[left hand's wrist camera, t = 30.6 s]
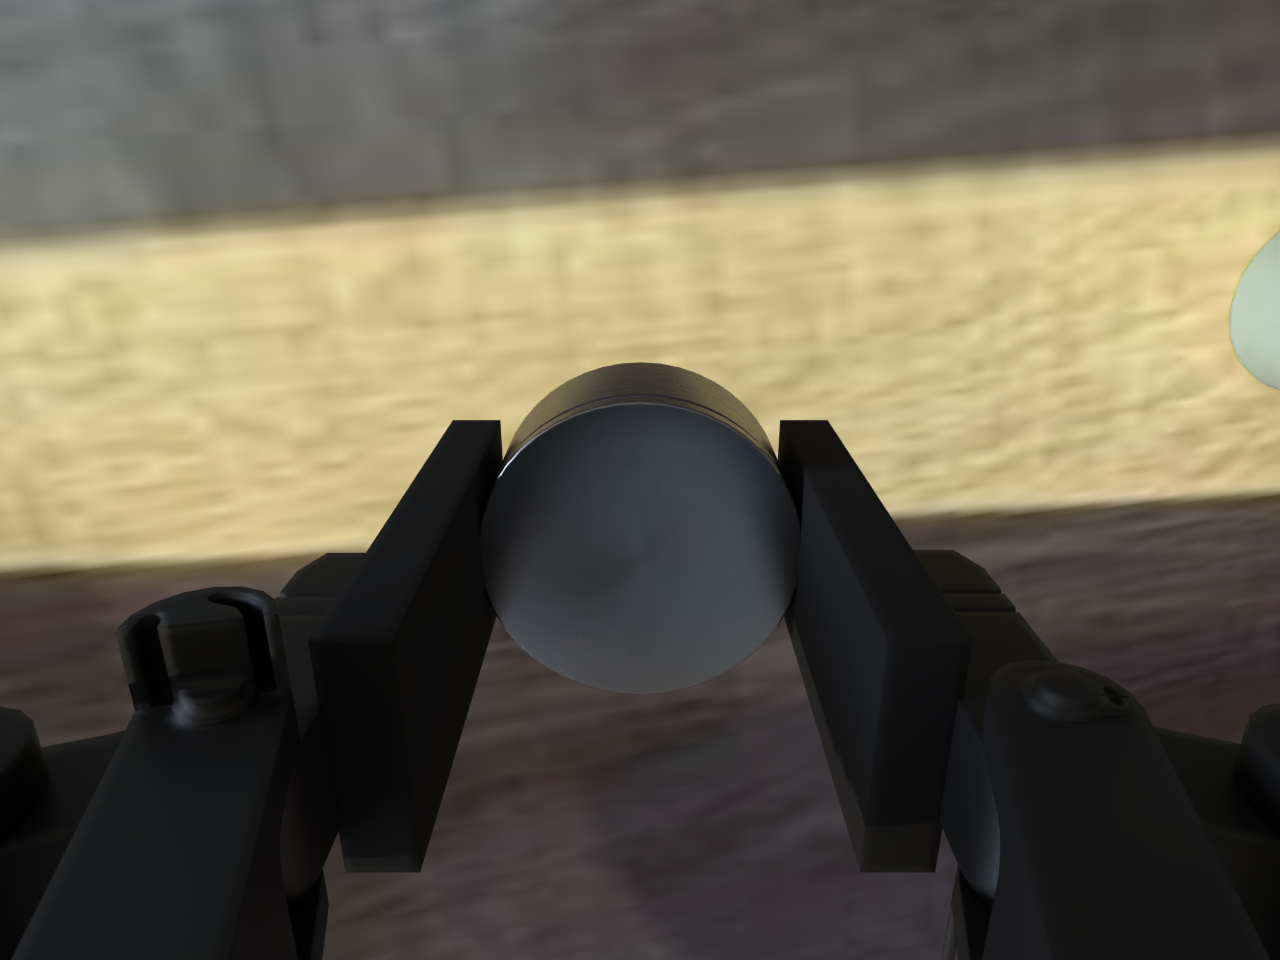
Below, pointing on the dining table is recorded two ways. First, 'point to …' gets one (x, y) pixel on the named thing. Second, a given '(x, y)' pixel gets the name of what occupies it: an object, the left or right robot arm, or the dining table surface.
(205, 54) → the dining table surface
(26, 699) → the dining table surface
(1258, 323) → the bottle
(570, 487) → the cap
